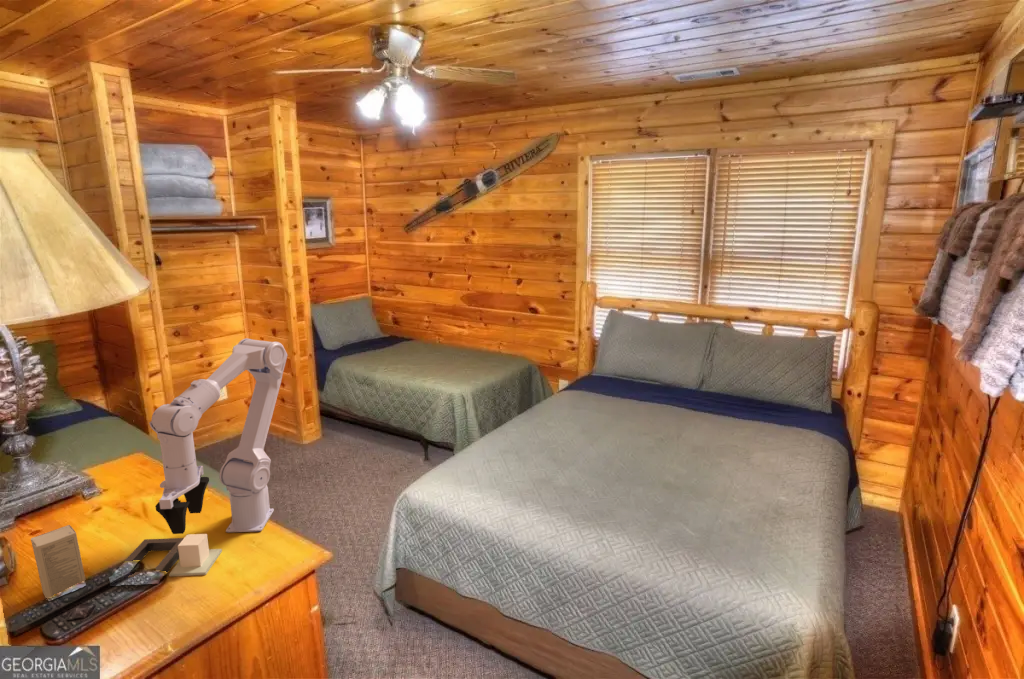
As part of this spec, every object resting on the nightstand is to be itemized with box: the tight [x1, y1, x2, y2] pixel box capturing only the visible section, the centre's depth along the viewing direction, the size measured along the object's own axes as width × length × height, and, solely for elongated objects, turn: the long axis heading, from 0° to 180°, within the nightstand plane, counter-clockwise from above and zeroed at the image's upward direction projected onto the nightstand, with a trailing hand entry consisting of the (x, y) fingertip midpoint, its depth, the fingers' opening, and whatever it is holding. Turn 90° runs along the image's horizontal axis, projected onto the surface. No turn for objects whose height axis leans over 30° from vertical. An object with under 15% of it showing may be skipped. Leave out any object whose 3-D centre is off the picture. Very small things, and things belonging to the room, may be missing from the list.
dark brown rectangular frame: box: [124, 537, 185, 578], centre depth 116 cm, size 13×9×2 cm
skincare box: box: [30, 524, 86, 599], centre depth 106 cm, size 6×4×12 cm
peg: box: [178, 533, 210, 567], centre depth 116 cm, size 4×4×5 cm
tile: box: [168, 548, 223, 577], centre depth 117 cm, size 8×7×1 cm
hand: (187, 522), depth 115 cm, fingers open, 7 cm apart
